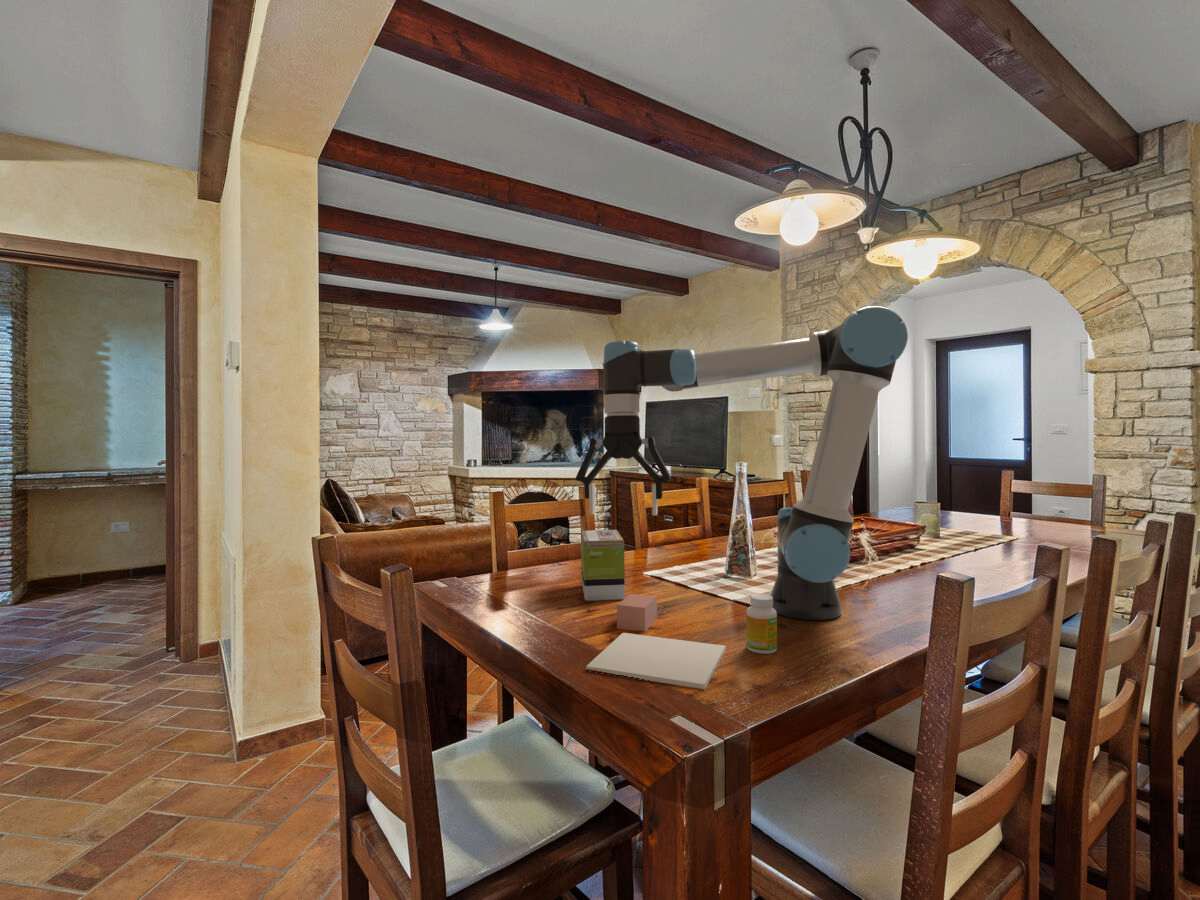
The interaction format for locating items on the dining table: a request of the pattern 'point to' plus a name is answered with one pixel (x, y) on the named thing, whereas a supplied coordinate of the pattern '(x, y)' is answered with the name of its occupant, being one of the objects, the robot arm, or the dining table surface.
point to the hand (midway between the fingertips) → (623, 514)
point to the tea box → (602, 565)
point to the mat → (660, 660)
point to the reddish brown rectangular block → (636, 612)
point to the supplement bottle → (761, 625)
